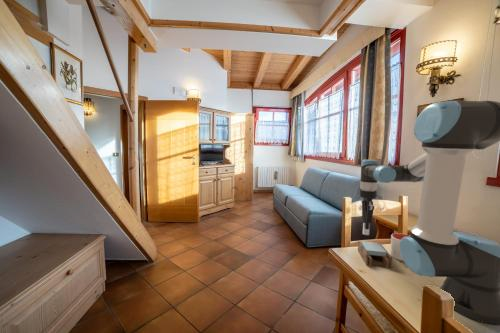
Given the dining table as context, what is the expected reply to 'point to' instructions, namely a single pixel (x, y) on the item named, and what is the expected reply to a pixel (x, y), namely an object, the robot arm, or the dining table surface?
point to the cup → (396, 245)
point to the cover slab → (373, 248)
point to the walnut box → (375, 258)
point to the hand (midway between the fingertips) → (365, 234)
